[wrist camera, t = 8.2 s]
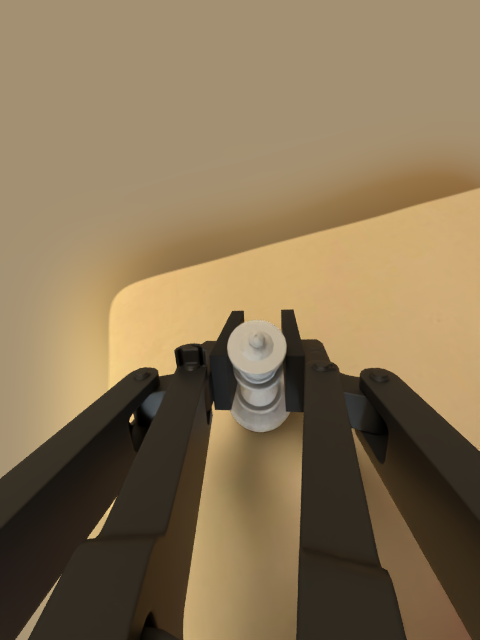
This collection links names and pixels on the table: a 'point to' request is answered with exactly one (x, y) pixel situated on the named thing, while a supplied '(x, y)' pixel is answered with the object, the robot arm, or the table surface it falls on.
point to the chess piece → (258, 375)
